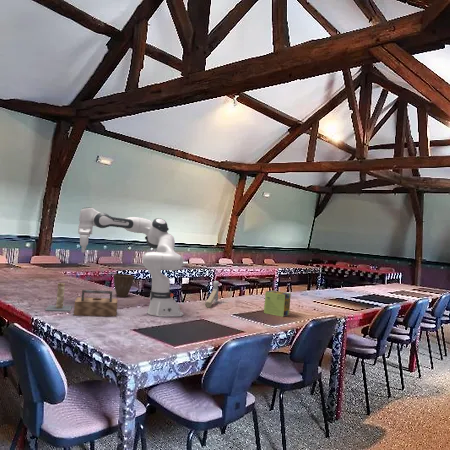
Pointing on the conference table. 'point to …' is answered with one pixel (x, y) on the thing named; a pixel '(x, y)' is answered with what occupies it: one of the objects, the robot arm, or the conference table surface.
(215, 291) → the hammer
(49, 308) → the slate mat
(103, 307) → the toolbox
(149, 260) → the robot arm
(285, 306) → the protein box
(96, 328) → the conference table surface
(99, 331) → the conference table surface
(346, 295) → the conference table surface
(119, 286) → the plant pot
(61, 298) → the wooden key
